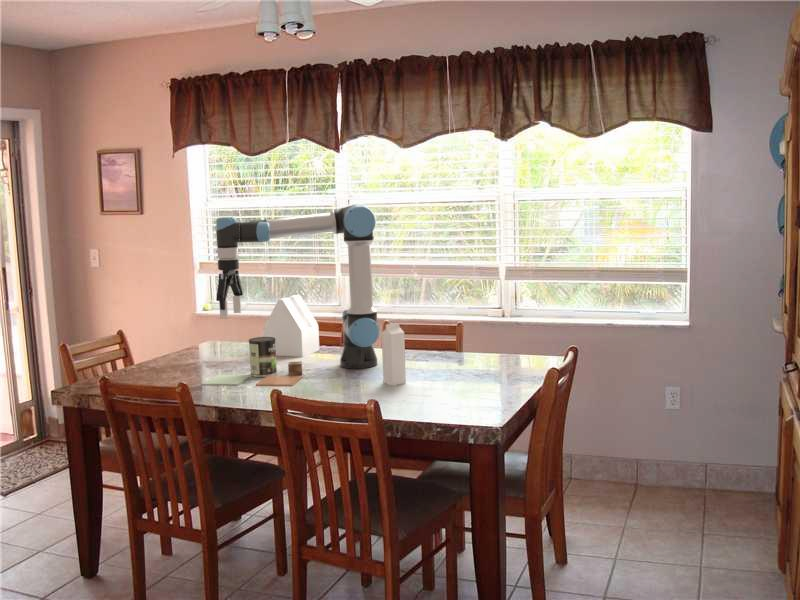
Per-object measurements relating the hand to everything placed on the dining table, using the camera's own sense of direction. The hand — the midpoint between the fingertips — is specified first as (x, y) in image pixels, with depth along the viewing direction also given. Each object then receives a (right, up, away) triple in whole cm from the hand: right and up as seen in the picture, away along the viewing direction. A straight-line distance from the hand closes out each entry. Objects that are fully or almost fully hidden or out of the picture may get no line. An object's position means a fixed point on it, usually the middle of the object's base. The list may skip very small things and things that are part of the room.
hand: (230, 315), depth 293 cm
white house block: (+15, -18, +56) cm, 61 cm away
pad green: (-3, -25, +5) cm, 26 cm away
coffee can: (+10, -24, +14) cm, 29 cm away
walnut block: (+23, -23, +11) cm, 34 cm away
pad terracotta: (+18, -25, +2) cm, 31 cm away
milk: (+61, -25, -7) cm, 66 cm away
